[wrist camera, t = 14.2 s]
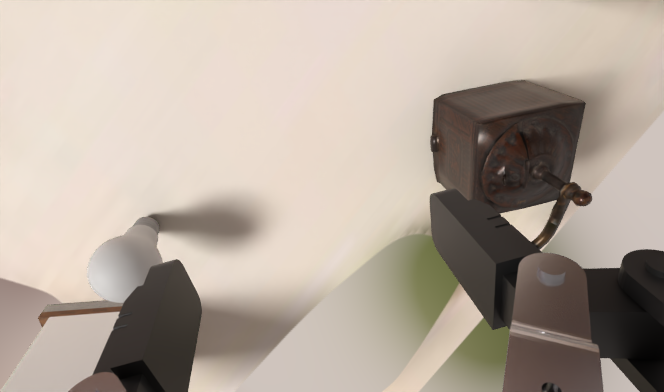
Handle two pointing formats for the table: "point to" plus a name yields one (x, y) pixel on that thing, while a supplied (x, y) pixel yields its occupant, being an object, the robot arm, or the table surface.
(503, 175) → the manual coffee grinder
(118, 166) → the table surface
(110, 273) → the lightbulb
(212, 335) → the table surface
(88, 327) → the white square pillar
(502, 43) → the table surface
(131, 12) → the table surface
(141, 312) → the robot arm
